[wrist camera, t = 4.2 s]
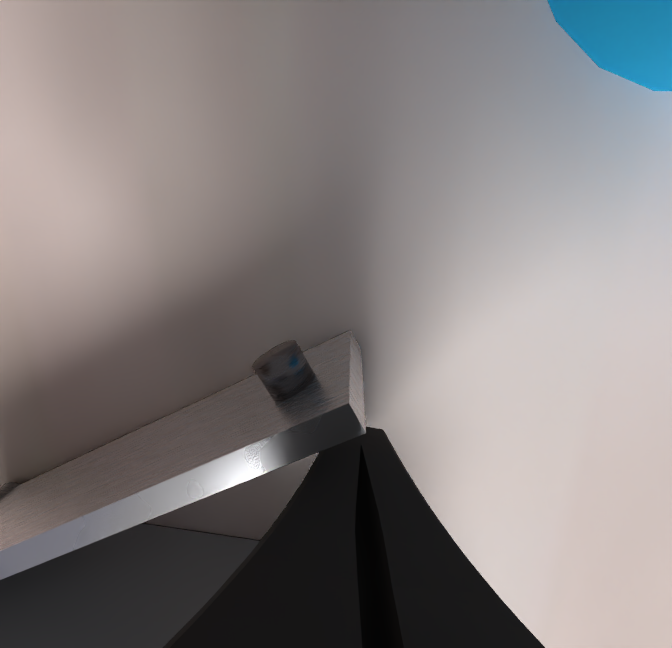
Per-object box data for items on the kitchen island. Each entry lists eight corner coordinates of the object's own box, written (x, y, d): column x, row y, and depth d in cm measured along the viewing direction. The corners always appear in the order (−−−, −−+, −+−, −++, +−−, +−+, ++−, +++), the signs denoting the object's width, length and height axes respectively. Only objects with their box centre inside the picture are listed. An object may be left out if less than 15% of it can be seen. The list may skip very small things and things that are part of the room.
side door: (16, 510, 11) (-146, 652, 7) (-19, 475, 11) (-208, 607, 7) (364, 354, 9) (372, 451, 5) (336, 301, 8) (324, 365, 5)
